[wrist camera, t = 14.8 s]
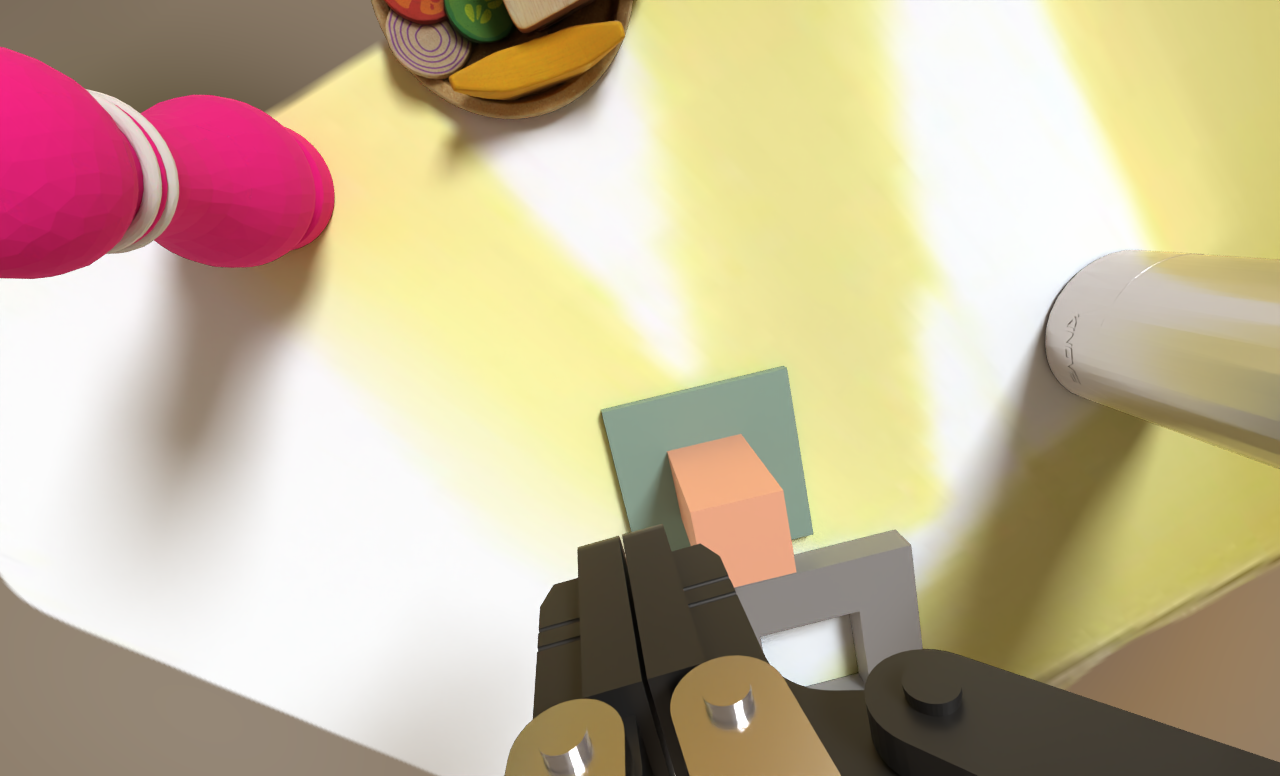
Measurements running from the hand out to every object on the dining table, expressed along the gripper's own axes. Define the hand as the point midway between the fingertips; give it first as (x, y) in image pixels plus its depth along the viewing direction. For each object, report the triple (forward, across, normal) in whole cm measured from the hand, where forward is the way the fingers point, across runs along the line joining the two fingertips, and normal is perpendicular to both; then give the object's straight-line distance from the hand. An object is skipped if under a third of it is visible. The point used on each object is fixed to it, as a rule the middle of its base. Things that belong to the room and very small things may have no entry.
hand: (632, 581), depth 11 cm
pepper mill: (+26, +14, -11) cm, 32 cm away
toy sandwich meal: (+26, -1, -18) cm, 32 cm away
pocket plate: (+26, -9, +25) cm, 37 cm away
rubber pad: (+26, -5, +10) cm, 28 cm away
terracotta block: (+25, -5, +11) cm, 28 cm away
